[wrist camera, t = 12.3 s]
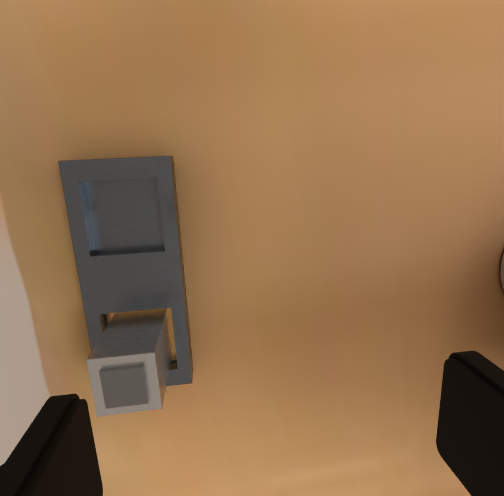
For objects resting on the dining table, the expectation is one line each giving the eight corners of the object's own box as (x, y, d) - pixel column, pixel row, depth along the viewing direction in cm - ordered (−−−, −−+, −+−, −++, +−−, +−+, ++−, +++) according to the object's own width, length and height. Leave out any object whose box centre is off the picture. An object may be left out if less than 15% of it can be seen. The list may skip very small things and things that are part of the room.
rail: (172, 156, 32) (169, 156, 30) (193, 368, 38) (192, 383, 35) (69, 160, 31) (58, 160, 29) (106, 377, 37) (98, 393, 34)
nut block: (166, 309, 35) (153, 355, 26) (172, 354, 36) (161, 412, 28) (114, 314, 34) (84, 362, 26) (121, 360, 35) (95, 420, 27)
